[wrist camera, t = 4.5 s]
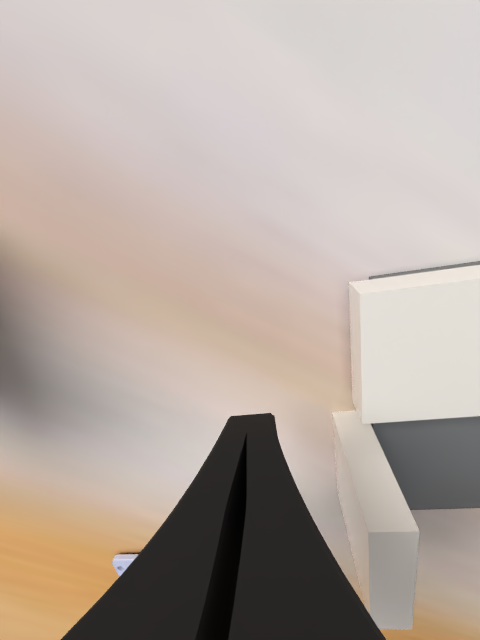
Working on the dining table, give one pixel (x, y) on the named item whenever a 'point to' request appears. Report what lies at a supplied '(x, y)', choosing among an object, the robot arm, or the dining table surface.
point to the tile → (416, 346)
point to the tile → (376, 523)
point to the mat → (434, 453)
